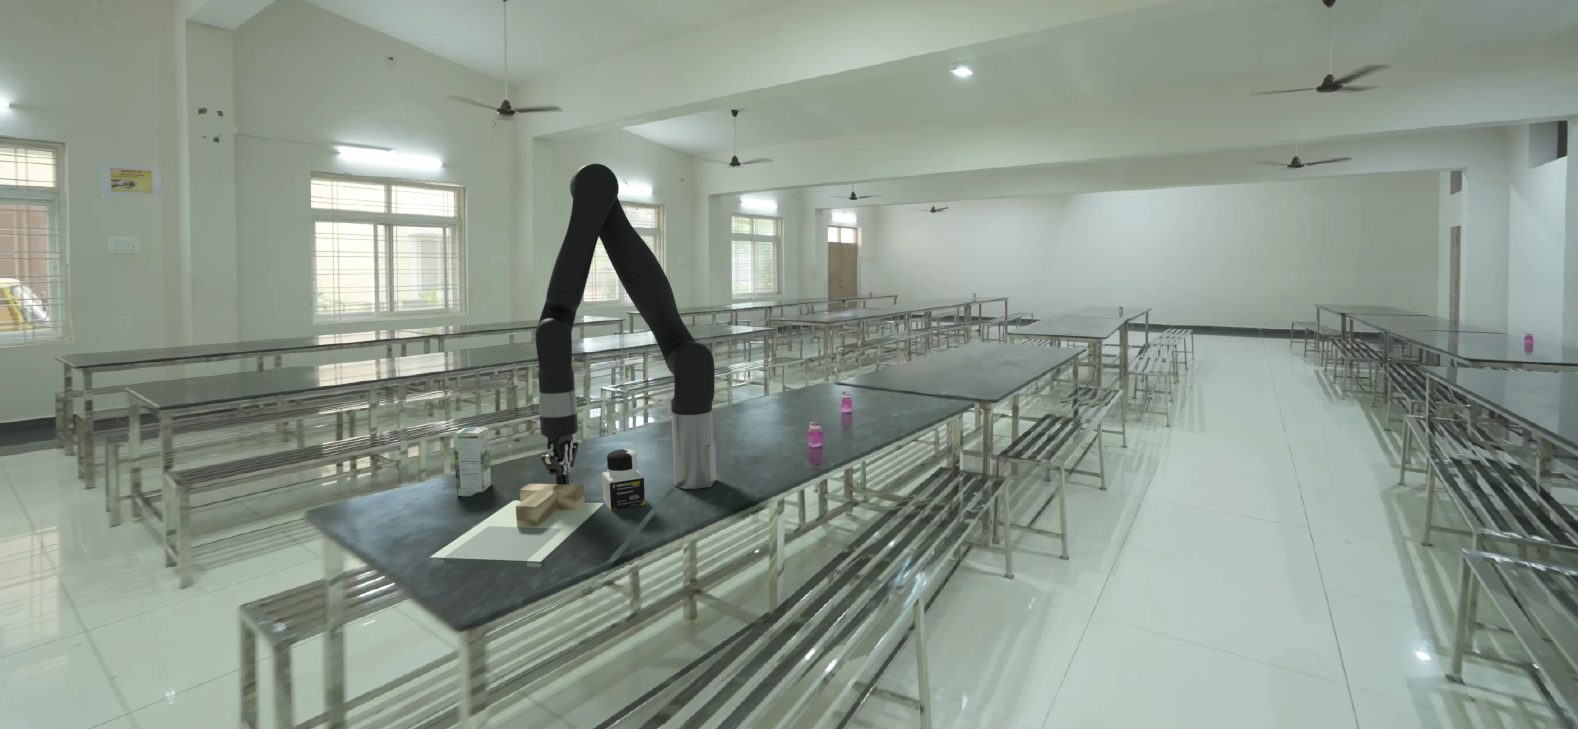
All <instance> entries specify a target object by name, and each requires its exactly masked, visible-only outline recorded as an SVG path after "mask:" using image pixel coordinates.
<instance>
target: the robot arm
mask: <svg viewBox="0 0 1578 729" xmlns="http://www.w3.org/2000/svg"><path fill="white" fill-rule="evenodd" d="M618 180H619V179H617V176H616V175H615V173H614V172H613V171H612V169H610V168H609V167H608V166H606V165H605V164H601V163H594V162H592V163H587V164H586V165H582V166H581V167H580V168H578V169H577V170H576V172H575V173H574V174H573V176H572V177H571V180H570V183H569V191H570V195H571V197H572V204H571V205H572V207H571V213H570V218H569V222H568V227H567V229H566V230H567V231H566V233H565V236H564V239H563V240H562V244H561V247H560V249H559V252H558V254H557V257H556V260H555V262H554V265H553V268H552V272H551V275H550V280H549V283H548V287H547V290H546V296H545V303H544V305H543V308H542V311H541V314H540V318H539V320H538V323H537V325H536V326H537V327H536V330H535V335H534V336H535V347H536V355H537V362H538V391H539V395H538V408H539V409H538V410H539V424H540V425H539V426H540V434H541V435H542V437H546V439H547V444H546V449H547V453H546V455H545V454H542V456H541V462H542V463H543V465H544V466H545V469H546V470H547V472H548V473H549V475H555V483H556V484H564V485H570V476H569V475H570V474H569V473H571V468H573V467H574V465H575V461H576V456H577V453H578V452H577V451H578V448H579V441H574V436H573V435H575V434H576V433H578V432H579V426H578V425H579V422H578V408H577V407H578V406H577V396H576V392H575V391H576V390H575V376H574V369H573V364H572V361H573V359H572V358H573V338H572V336H573V334H572V331H573V327H574V322H575V320H576V315H577V311H578V308H579V307H580V305H581V302H582V299H583V296H584V293H585V290H586V285H587V282H588V278H589V274H590V270H591V266H592V263H593V258H594V255H595V251H596V247H597V243H598V240H599V239H600V241H601V243H602V246H603V248H604V250H605V252H606V255H607V257H608V259H609V261H610V263H611V265H612V267H613V269H614V271H615V273H616V275H617V277H618V279H619V281H620V282H621V284H622V287H623V288H624V290H625V292H626V294H627V295H628V297H629V299H630V300H631V302H632V303H633V305H634V307H635V309H636V311H637V312H638V313H639V315H640V316H641V318H642V319H643V321H644V323H646V325H647V326H648V327H649V329H650V331H651V333H652V334H653V337H654V339H655V341H656V343H657V346H658V347H659V349H660V352H661V355H662V357H663V359H664V363H665V364H666V366H667V369H668V370H669V371H670V373H671V374H672V375H673V378H674V379H673V380H674V388H673V389H674V393H673V397H672V399H671V403H670V404H671V409H670V410H671V431H672V432H671V434H672V438H671V439H672V456H673V457H672V459H673V460H672V461H673V482H674V483H673V484H674V486H675V487H677V488H680V489H684V490H697V489H704V488H711V487H712V486H713V484H714V483H715V482H716V480H717V462H716V459H717V458H716V454H717V453H716V440H715V439H714V433H713V432H714V431H713V401H714V399H715V360H714V356H713V353H712V352H711V350H710V349H709V347H707V346H706V345H704V344H703V343H700V342H698V341H697V340H695V338H694V337H693V336H692V334H691V332H690V331H689V330H688V328H687V326H686V325H685V323H684V321H683V319H682V317H681V315H680V313H679V311H678V307H677V303H676V300H675V296H674V292H673V289H672V286H671V283H670V281H669V278H668V277H667V275H666V273H665V271H664V269H663V267H662V266H661V264H660V262H659V260H658V259H657V257H656V255H655V254H654V252H653V251H652V250H651V248H650V247H649V246H648V245H647V243H646V242H645V241H644V239H643V238H642V236H640V234H639V233H638V232H637V230H636V229H635V228H634V227H633V225H632V223H631V222H630V221H629V219H628V217H627V215H626V213H625V211H624V209H623V206H622V204H621V203H620V202H621V201H620V200H619V197H618V196H619V192H620V190H619V188H620V186H619V181H618Z"/></svg>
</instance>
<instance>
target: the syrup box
mask: <svg viewBox="0 0 1578 729" xmlns="http://www.w3.org/2000/svg"><path fill="white" fill-rule="evenodd" d="M452 443H453V456H454V458H453V459H454V471H455V485H456V496H457V497H458V496H462V497H471V496H474V495H475V494H477V493H483V492H485V491H486V490H487V489H488V488H489V487H490V486H492V484H493V483H492V480H493V479H492V465H491V464H492V463H491V450H490V435H489V427H481V426H479V427H478V426H473V427H470V426H469V427H463V428H461V429H460V430H458V431H456V432H454V433H453V434H452Z"/></svg>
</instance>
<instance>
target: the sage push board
mask: <svg viewBox="0 0 1578 729" xmlns="http://www.w3.org/2000/svg"><path fill="white" fill-rule="evenodd" d="M519 503H520V500H517V499H516V500H515V499H514V500H513V501H511V502H509V503H508V504H507V505H505V506H503V507H501V508H500V509H499V510H497V511H495V513H493V514H491V515H490V516H488V517H487V518H485V519H484V520H482V521H481V522H480V523H478V524H477V525H475V526H473V527H472V528H471V529H469V530H468V531H466V532H464V533H463V534H461V535H460V536H459V537H457V538H456V539H455V540H453V541H451V542H450V543H449V544H447V545H446V546H444V547H443V548H441V549H440V550H438V551H437V552H435V553H434V554H432V555H431V556H430V558H429V563H433V564H453V565H455V564H456V565H475V566H476V565H478V566H481V565H483V566H501V565H502V566H504V567H505V566H506V567H528V568H531V567H533V568H541V567H543V566H544V565H545V564H546V563H544V562H543V563H542V561H543V560H545V558H546V557H547V556H549V555H550V554H551V553H552V552H553V551H554V550H555V549H556V548H557V547H559V545H561V544H562V543H563V542H564V541H565V540H566V539H567V538H568V537H569V536H571V535H572V533H574V532H575V531H576V530H578V528H579V527H581V525H583V523H584V522H586V521H587V520H588V519H589V518H590V517H591V516H592V515H593V514H594V513H595V512H596V511H597V510H599V509H600V508H601V507H602V506H603V505H604V504H605V502H585V504H584V505H582V506H581V507H580V508H579V509H578V510H557V511H556V512H555V513H553V514H552V515H551V516H550V517H548V518H547V519H546V520H545V521H543V522H542V523H541V524H540V525H538V526H537V527H530V526H517V519H516V505H518V504H519ZM502 566H501V567H502Z"/></svg>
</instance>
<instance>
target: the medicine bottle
mask: <svg viewBox="0 0 1578 729" xmlns="http://www.w3.org/2000/svg"><path fill="white" fill-rule="evenodd" d="M606 465H607V471H603V472H601V473H602V474H601V475H602V477H601V478H602V492H603V501H604V504H606V506H607V507H608V508H609V510H610V511H616V510H622V509H629V508H633V507H638V506H639V507H640V506H644V505H646V496H645V494H646V493H645V476H644V475H643V474H642V473H641V472H640V471H639V470H638V453H637V452H636V451H635V450H632V449H630V448H629V449H626V448H621V449H616V450H612V451H611V452H608V453H607V455H606Z"/></svg>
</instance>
